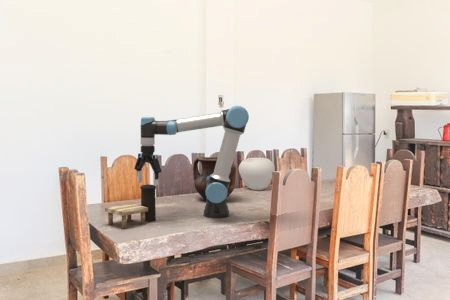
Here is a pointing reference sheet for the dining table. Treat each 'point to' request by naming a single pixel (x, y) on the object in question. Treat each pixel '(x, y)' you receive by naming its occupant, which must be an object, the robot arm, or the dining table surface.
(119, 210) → the footstool
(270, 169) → the vase
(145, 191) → the container
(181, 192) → the dining table surface
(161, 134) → the robot arm
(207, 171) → the jug
